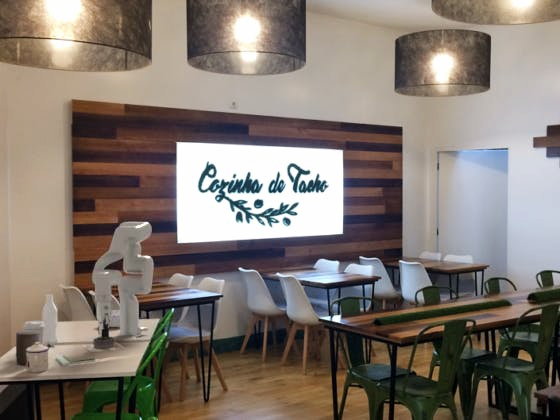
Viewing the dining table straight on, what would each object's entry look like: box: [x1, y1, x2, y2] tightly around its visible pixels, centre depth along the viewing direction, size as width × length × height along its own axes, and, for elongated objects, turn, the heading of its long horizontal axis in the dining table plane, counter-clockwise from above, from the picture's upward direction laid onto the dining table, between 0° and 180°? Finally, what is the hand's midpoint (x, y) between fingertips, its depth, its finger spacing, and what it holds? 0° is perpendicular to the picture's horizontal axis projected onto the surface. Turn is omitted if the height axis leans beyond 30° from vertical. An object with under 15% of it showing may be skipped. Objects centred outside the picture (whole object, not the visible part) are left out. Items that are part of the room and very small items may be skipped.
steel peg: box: [98, 321, 108, 340], centre depth 308 cm, size 4×4×13 cm
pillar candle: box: [15, 329, 40, 366], centre depth 285 cm, size 10×10×15 cm
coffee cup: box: [22, 320, 45, 346], centre depth 299 cm, size 10×10×15 cm
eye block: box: [83, 336, 125, 353], centre depth 308 cm, size 16×16×6 cm
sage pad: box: [55, 355, 97, 367], centre depth 289 cm, size 14×14×1 cm
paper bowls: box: [109, 309, 120, 328], centre depth 365 cm, size 15×15×8 cm
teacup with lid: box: [26, 342, 50, 373], centre depth 272 cm, size 12×9×12 cm
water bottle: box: [41, 293, 59, 347], centre depth 318 cm, size 7×7×25 cm
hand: (103, 335), depth 308 cm, fingers open, 5 cm apart
